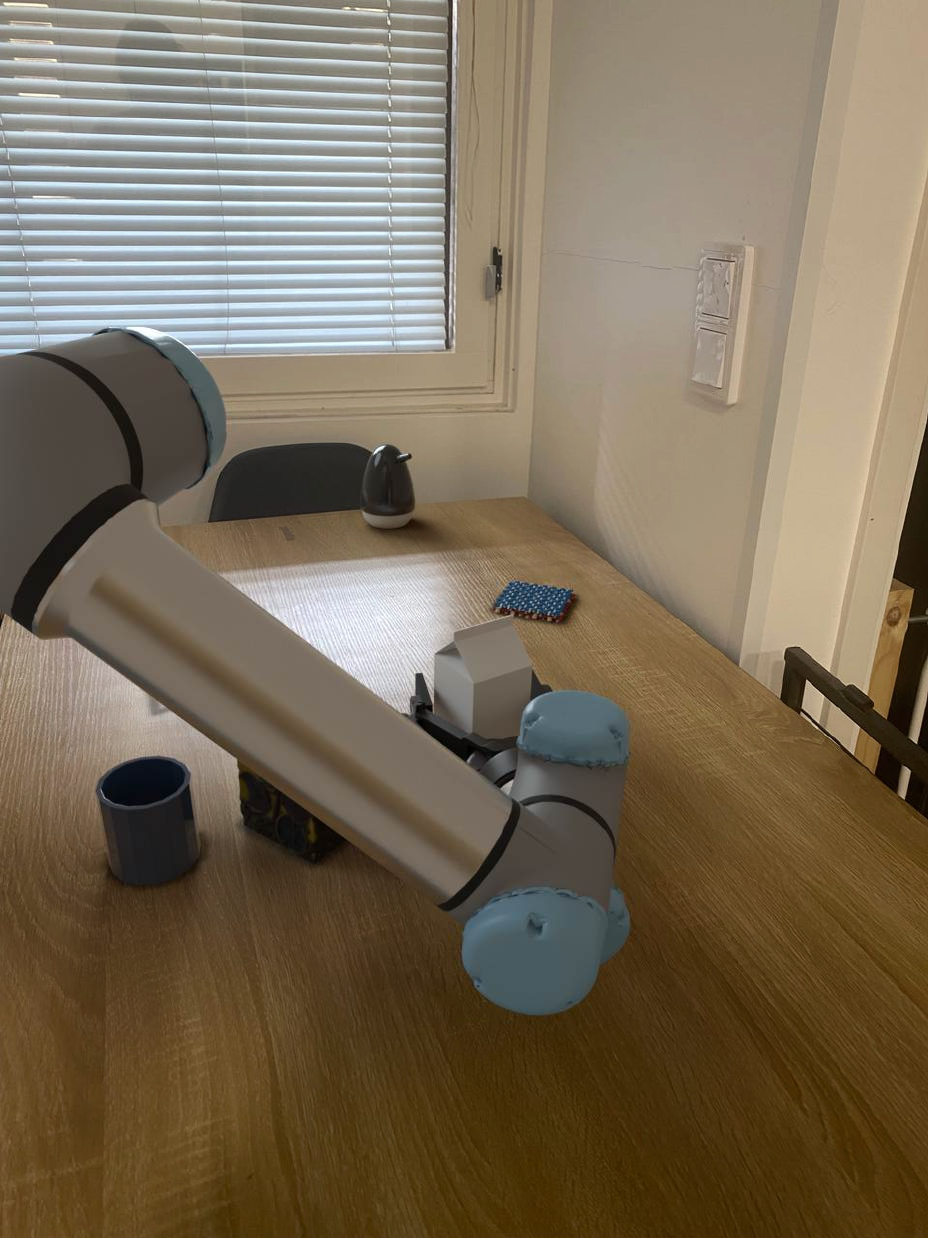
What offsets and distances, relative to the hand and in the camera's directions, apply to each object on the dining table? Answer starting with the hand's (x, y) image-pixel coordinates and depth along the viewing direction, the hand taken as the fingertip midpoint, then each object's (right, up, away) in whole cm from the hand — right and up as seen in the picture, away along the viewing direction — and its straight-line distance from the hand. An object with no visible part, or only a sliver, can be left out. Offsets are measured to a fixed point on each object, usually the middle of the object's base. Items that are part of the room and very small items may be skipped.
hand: (472, 679), depth 96 cm
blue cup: (-30, -16, -11) cm, 36 cm away
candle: (-16, -14, -6) cm, 22 cm away
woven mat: (+10, +8, +41) cm, 43 cm away
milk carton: (+1, -11, +1) cm, 11 cm away
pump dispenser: (-15, +24, +72) cm, 77 cm away
